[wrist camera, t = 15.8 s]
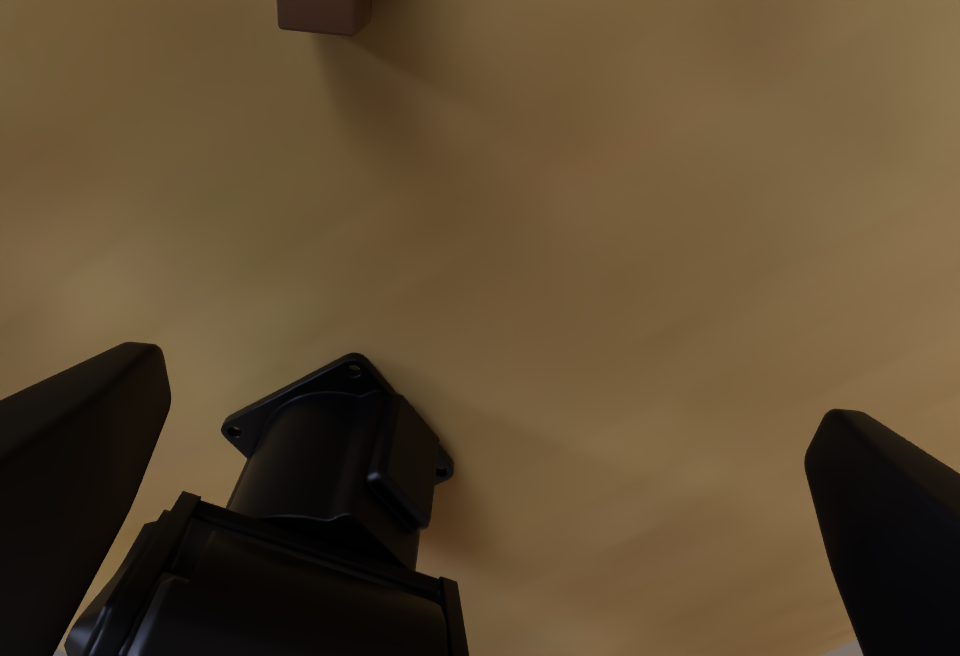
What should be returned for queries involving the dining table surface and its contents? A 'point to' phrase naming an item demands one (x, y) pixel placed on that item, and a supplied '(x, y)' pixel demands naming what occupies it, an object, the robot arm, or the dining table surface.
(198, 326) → the dining table surface
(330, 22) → the hanger
